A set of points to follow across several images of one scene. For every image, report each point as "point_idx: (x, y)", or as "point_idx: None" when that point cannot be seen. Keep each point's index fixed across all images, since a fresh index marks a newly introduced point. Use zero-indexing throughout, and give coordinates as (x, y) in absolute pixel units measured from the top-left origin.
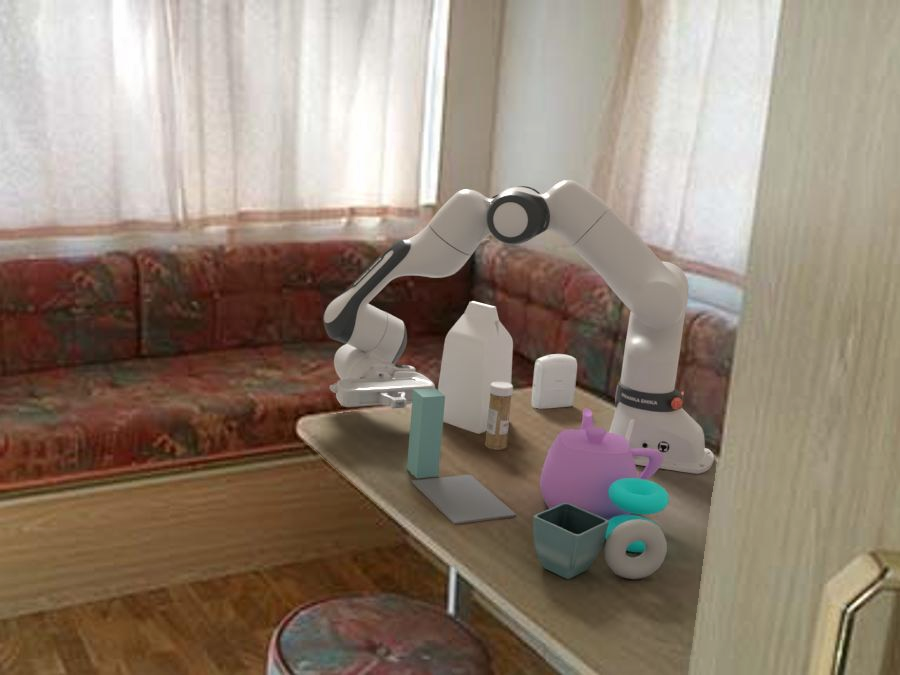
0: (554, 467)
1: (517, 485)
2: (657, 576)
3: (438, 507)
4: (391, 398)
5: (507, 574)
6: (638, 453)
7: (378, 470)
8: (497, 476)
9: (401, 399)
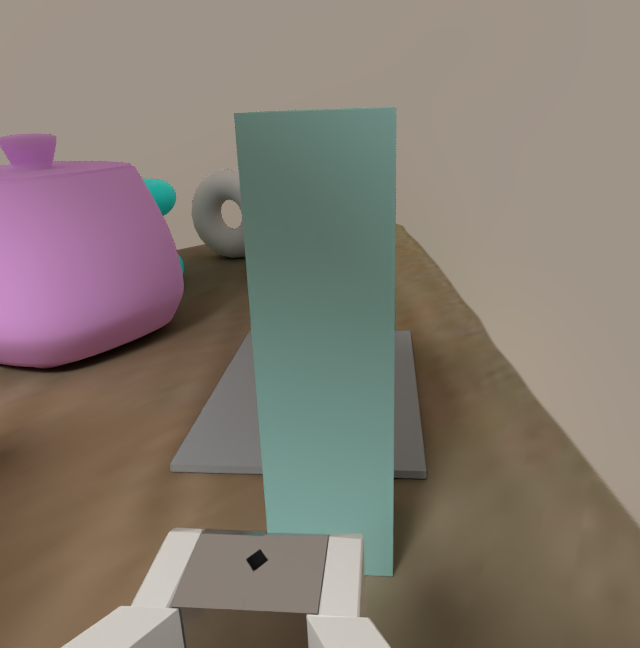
0: (159, 216)
1: (89, 410)
2: (199, 256)
3: (414, 367)
4: (356, 580)
5: (397, 271)
6: None
7: (554, 603)
8: (78, 455)
9: (235, 536)
